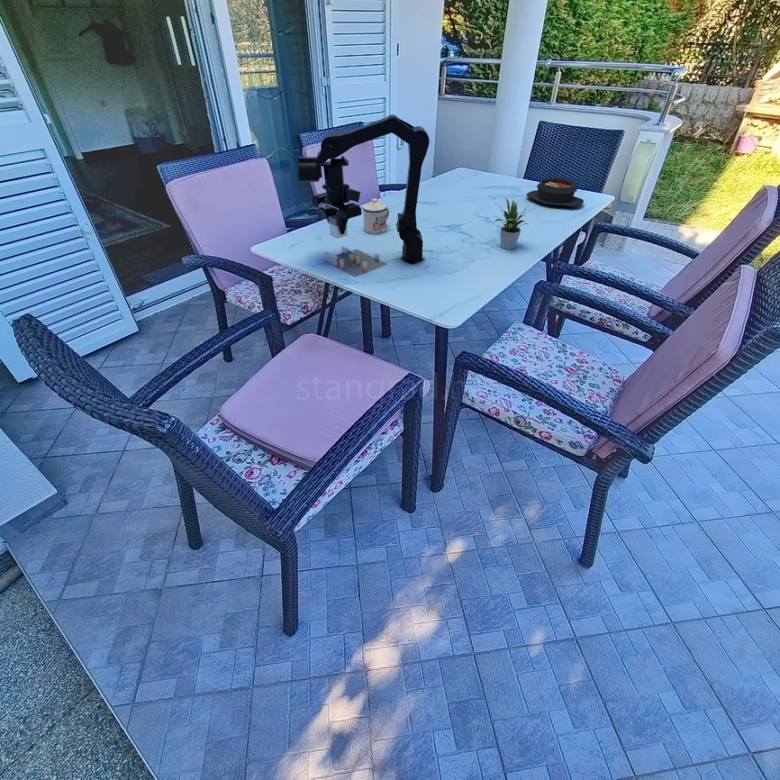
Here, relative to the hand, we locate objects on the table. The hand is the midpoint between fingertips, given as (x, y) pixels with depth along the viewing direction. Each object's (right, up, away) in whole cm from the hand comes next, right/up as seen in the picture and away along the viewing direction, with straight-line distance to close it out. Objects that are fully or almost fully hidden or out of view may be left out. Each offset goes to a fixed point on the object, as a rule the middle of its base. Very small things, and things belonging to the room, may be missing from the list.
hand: (338, 232), depth 145 cm
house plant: (+58, +1, +17) cm, 61 cm away
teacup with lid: (+12, +12, +30) cm, 34 cm away
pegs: (+7, -10, +3) cm, 13 cm away
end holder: (0, -8, +7) cm, 10 cm away
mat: (+5, -9, +6) cm, 12 cm away
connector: (0, -1, +1) cm, 1 cm away
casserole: (+90, +32, +54) cm, 109 cm away
